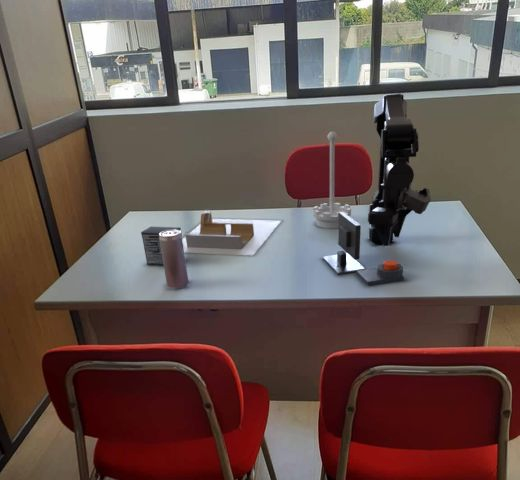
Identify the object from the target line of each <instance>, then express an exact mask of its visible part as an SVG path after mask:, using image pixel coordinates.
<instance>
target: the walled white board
mask: <svg viewBox="0 0 520 480" xmlns="http://www.w3.org/2000/svg"><path fill="white" fill-rule="evenodd" d="M281 222H282V220H273V219H272V220H270V219H269V220H268V219H267V220H265V219H233V218H232V219H230V218H229V219H228V218H224V219H223V218H213V217H212V210H211V209H209V208H207V209H205V208H204V209H202V213H201V215H200V224H199V225H197V226H196V227H195V228H194V229H192V230H191V231H189V232H188V231H187V230H186V232H185V233H184V234H185V236H184V237H182V241H183V247H184V253H188V254H208V255H209V254H210V255H211V254H213V255H229V256H230V255H231V256H233V255H234V256H254V255H255V253H257V251H258V250H259V249H260V247H262V245H263V244H264V242H266V240H267V239H268V238H269V237H270V235H271V234H272V233H273V232H274V230H275V229H276V228H277V227H278V226H279V225H280V223H281Z"/></svg>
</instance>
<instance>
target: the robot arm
mask: <svg viewBox="0 0 520 480" xmlns="http://www.w3.org/2000/svg"><path fill="white" fill-rule="evenodd" d="M404 97H405V96H404V94H401V93H387V94H385V95H382V99H381V100H379V101H377V102H375V104H374V109H373V124H375V130H376V132H377V135H378V136H379V138H380V143H379V144H380V145H379V146H380V147H379V161H378V162H379V166H378V179H377V180H378V182H377V190H376V191H375V193H374V194H373V195H372V198H371V204H369V208H368V214H367V222H368V225H370V226H369V229H368V230H369V231H368V238H367V240H369V242H371V243H372V244H373V245H375V246H384V247H389V245H390V244H395V243H396V240H394V238H399V237H400V235H401V232H402V229H403V226H404V223H405V220H406V218H407V217H408V215H409V214H411V212H414V213H415V214H417V215H422V214H423V213H424V212H425V211H426V210H427V208H428V206H429V204H430V203H431V201H432V196H431V195H430V193H431V192H430V189H429V188H427V187H423V188H422V189H420V190H419V191H418V189H416V190H414V189H412V183H413V181H414V178H415V173H414V169H413V167H412V165H411V164H410V158H416V157H417V153H418V152H419V150H420V149H419V132H418V131H417V128H416V127H414V123H413V121H412V120H411V119H409V118H407V117H408V101H407V100H406V99H404Z"/></svg>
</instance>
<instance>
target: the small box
mask: <svg viewBox="0 0 520 480" xmlns="http://www.w3.org/2000/svg"><path fill="white" fill-rule="evenodd" d="M172 229H174V230H179V231H180V232H181V235H182V229H181V227H178V226H177V227H173V226H150V227H148V228H146V229H144V230H142V231H141V232H140V234H141V238H142V244H143V249H144V255H145V261H146V265H147V266H154V267H164V264H163V258H162V252H161V246H160V241H159V233H160V232H162V231H165V230H172Z"/></svg>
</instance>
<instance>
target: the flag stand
mask: <svg viewBox="0 0 520 480" xmlns="http://www.w3.org/2000/svg"><path fill="white" fill-rule="evenodd" d="M337 138H338V135H337V133H336V132H335V131H330V132H328V134H327V140H328V141H329V205H328V203H326V202H325V203H320V204H319V206H318V205H315V206H314V207H313V208H312V216H313V217H314V218H315V225H316V226H317V227H320V228H324V229H339V213H341V212H344V213H345V214H347V215H348V216H349V217H351V216H352V207H351V205H350V204H347V203H345V204H344V205H343V206H342V205H341V204H342V203H341V202H335V150H336V149H335V146H336V145H335V141H336V140H337Z"/></svg>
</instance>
